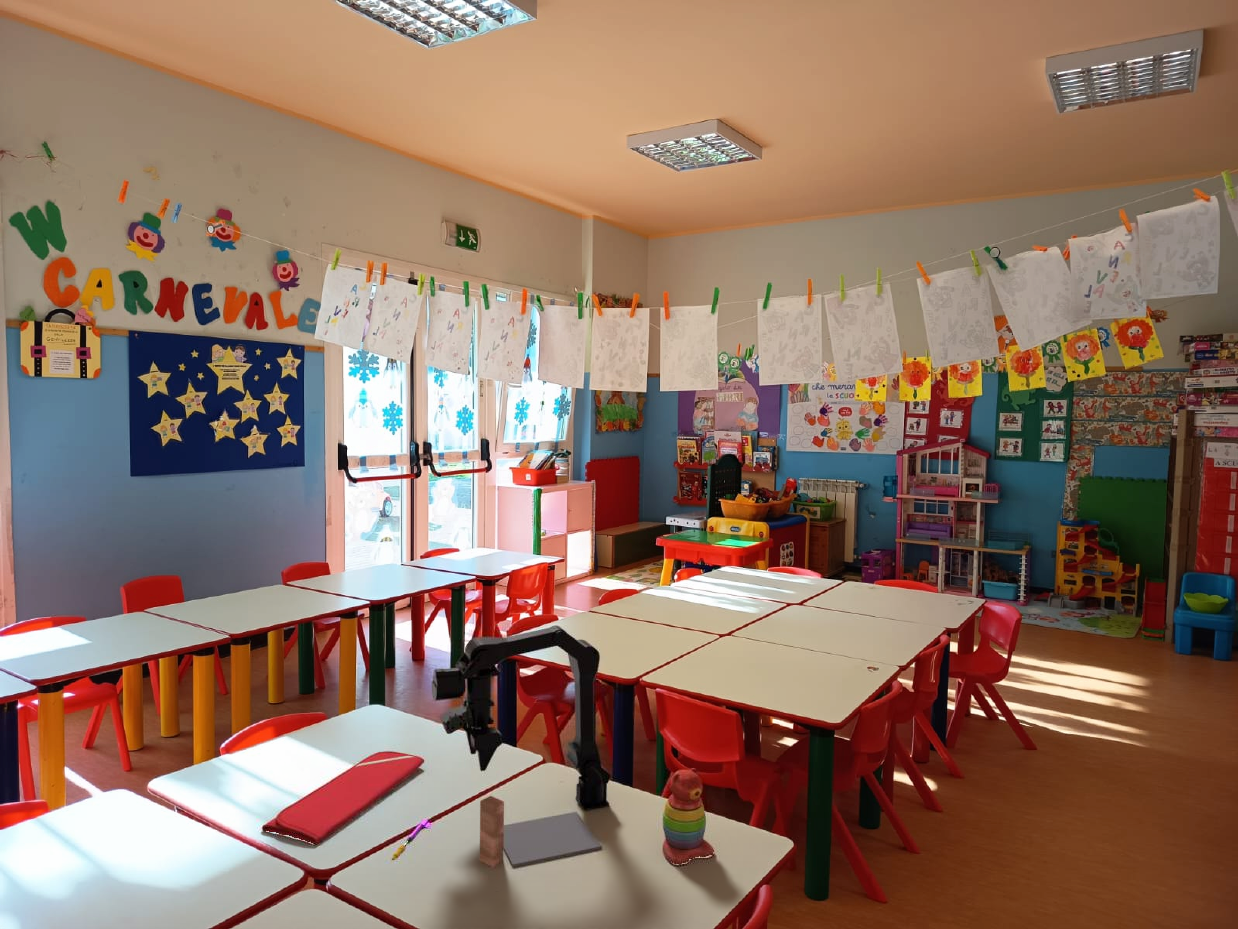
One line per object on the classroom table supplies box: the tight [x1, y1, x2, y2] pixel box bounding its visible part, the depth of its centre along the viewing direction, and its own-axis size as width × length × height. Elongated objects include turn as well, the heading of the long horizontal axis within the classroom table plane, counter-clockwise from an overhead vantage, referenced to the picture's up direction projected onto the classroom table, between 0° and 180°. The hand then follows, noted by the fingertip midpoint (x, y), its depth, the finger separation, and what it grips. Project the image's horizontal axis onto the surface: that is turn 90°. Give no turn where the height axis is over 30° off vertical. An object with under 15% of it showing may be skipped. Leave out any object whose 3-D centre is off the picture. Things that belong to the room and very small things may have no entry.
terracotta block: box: [479, 795, 505, 868], centre depth 174 cm, size 3×4×13 cm
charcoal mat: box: [503, 811, 603, 868], centre depth 183 cm, size 20×16×1 cm
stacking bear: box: [662, 767, 715, 865], centre depth 179 cm, size 11×10×18 cm
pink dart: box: [391, 818, 434, 861], centre depth 182 cm, size 3×1×16 cm
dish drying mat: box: [261, 750, 425, 845], centre depth 200 cm, size 16×41×4 cm, turn 159°
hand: (477, 762), depth 188 cm, fingers open, 9 cm apart
